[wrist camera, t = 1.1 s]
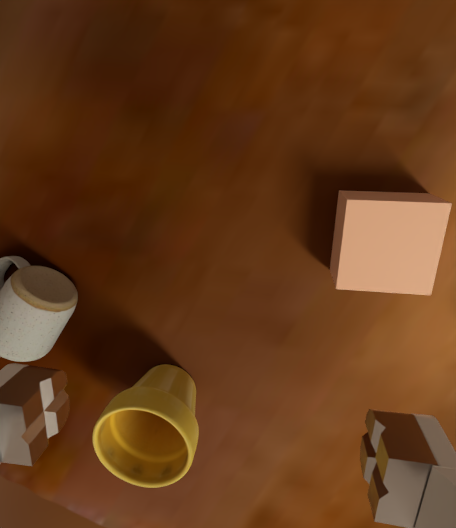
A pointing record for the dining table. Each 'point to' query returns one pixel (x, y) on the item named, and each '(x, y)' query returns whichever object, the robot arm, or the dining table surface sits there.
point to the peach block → (388, 241)
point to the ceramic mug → (32, 309)
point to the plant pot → (150, 429)
